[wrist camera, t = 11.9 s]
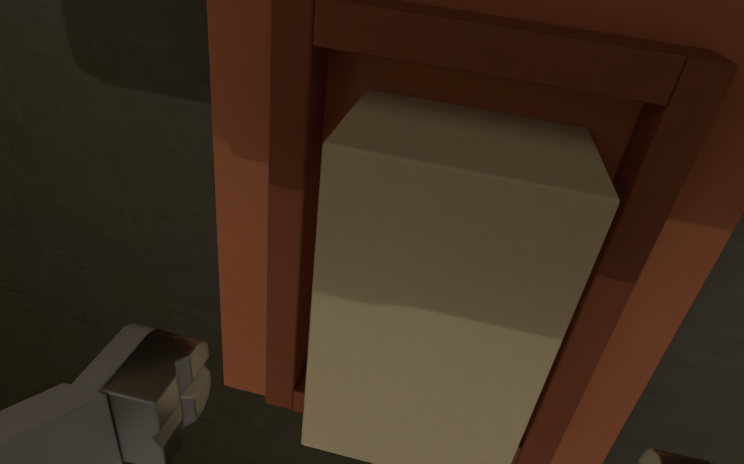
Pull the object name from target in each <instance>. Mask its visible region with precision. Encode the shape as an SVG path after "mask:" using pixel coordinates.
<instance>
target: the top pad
mask: <svg viewBox="0 0 744 464" xmlns="http://www.w3.org/2000/svg"><path fill="white" fill-rule="evenodd" d="M619 203H620V200H619V197H618V195H617V193H616V191H615V188H614V186H613V184H612V182H611V179H610V177H609V175H608V173H607V170H606V168H605V166H604V164H603V161H602V159H601V157H600V155H599V152H598V150H597V148H596V146H595V143H594V141H593V139H592V137H591V134H590V132H589V130H588V129H587V128H585V127H580V126H574V125H568V124H563V123H557V122H552V121H546V120H540V119H535V118H529V117H524V116H518V115H512V114H507V113H501V112H496V111H490V110H484V109H479V108H473V107H468V106H462V105H456V104H451V103H445V102H440V101H434V100H428V99H423V98H417V97H412V96H406V95H400V94H395V93H389V92H384V91H378V90H372V89H367V90H366V92H365V93H364V94H363V95H362V96H361V98H360V99H359V100H358V101H357V103H356V104H355V105H354V106H353V108H352V109H351V110H350V111H349V112H348V114H347V115H346V116H345V117H344V119H343V120H342V121H341V122H340V124H339V125H338V126H337V127H336V129H335V130H334V131H333V132H332V133H331V135H330V136H329V137H328V138H327V140H326V141H325V142H324V144H323V147H322V161H321V174H320V188H319V202H318V216H317V230H316V244H315V258H314V272H313V285H312V299H311V313H310V327H309V341H308V355H307V369H306V382H305V396H304V410H303V424H302V438H301V443H302V444H303V445H305V446H309V447H313V448H317V449H321V450H324V451H328V452H332V453H336V454H340V455H343V456H347V457H351V458H355V459H358V460H362V461H366V462H370V463H374V464H511V463H512V460H513V458H514V456H515V453H516V451H517V448H518V446H519V444H520V441H521V439H522V436H523V434H524V432H525V429H526V427H527V424H528V422H529V420H530V417H531V415H532V412H533V410H534V408H535V405H536V403H537V400H538V398H539V396H540V393H541V391H542V388H543V386H544V384H545V381H546V379H547V376H548V374H549V372H550V369H551V367H552V364H553V362H554V359H555V357H556V355H557V352H558V350H559V347H560V345H561V343H562V340H563V338H564V335H565V333H566V331H567V328H568V326H569V323H570V321H571V319H572V316H573V314H574V311H575V309H576V307H577V304H578V302H579V299H580V297H581V295H582V292H583V290H584V287H585V285H586V283H587V280H588V278H589V275H590V273H591V271H592V268H593V266H594V263H595V261H596V259H597V256H598V254H599V251H600V249H601V247H602V244H603V242H604V239H605V237H606V235H607V232H608V230H609V227H610V225H611V223H612V220H613V218H614V215H615V213H616V211H617V208H618V206H619Z"/></svg>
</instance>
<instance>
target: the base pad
mask: <svg viewBox="0 0 744 464" xmlns="http://www.w3.org/2000/svg"><path fill="white" fill-rule="evenodd" d="M207 19H208V41H209V63H210V85H211V107H212V129H213V150H214V172H215V194H216V216H217V238H218V260H219V282H220V304H221V326H222V348H223V370H224V385H226V386H229V387H233V388H237V389H241V390H245V391H249V392H253V393H257V394H261V395H265V402H266V403H268V404H272V405H276V406H279V407H283V408H287V409H292V408H293V411H297V412H301V413H303V410H304V396H305V382H306V369H307V355H308V341H309V327H310V313H311V299H312V285H313V272H314V258H315V244H316V230H317V216H318V202H319V188H320V174H321V161H322V147H323V144H324V142H325V141H326V140H327V138H328V137H329V136H330V135H331V133H332V132H333V131H334V130H335V129H336V127H337V126H338V125H339V124H340V122H341V121H342V120H343V119H344V117H345V116H346V115H347V114H348V112H349V111H350V110H351V109H352V108H353V106H354V105H355V104H356V103H357V101H358V100H359V99H360V98H361V96H362V95H363V94H364V93H365V92H366V90H367V89H372V90H378V91H384V92H389V93H395V94H400V95H406V96H412V97H417V98H423V99H428V100H434V101H440V102H445V103H451V104H456V105H462V106H468V107H473V108H479V109H484V110H490V111H496V112H501V113H507V114H512V115H518V116H524V117H529V118H535V119H540V120H546V121H552V122H557V123H563V124H568V125H574V126H580V127H585V128H587V129H588V130H589V132H590V134H591V137H592V139H593V141H594V143H595V146H596V148H597V150H598V152H599V155H600V157H601V159H602V161H603V164H604V166H605V168H606V170H607V173H608V175H609V177H610V179H611V182H612V184H613V186H614V188H615V191H616V193H617V195H618V197H619V200H620V203H619V206H618V208H617V211H616V213H615V215H614V218H613V220H612V223H611V225H610V227H609V230H608V232H607V235H606V237H605V239H604V242H603V244H602V247H601V249H600V251H599V254H598V256H597V259H596V261H595V263H594V266H593V268H592V271H591V273H590V275H589V278H588V280H587V283H586V285H585V287H584V290H583V292H582V295H581V297H580V299H579V302H578V304H577V307H576V309H575V311H574V314H573V316H572V319H571V321H570V323H569V326H568V328H567V331H566V333H565V335H564V338H563V340H562V343H561V345H560V347H559V350H558V352H557V355H556V357H555V359H554V362H553V364H552V367H551V369H550V372H549V374H548V376H547V379H546V381H545V384H544V386H543V388H542V391H541V393H540V396H539V398H538V400H537V403H536V405H535V408H534V410H533V412H532V415H531V417H530V420H529V422H528V424H527V427H526V429H525V432H524V434H523V436H522V439H521V441H520V444H519V446H518V448H517V451H516V453H515V456H514V458H513V460H512V463H511V464H602V463H603V461H604V459H605V458H606V456H607V454H608V452H609V451H610V449H611V447H612V445H613V444H614V442H615V440H616V438H617V436H618V435H619V433H620V431H621V429H622V428H623V426H624V424H625V422H626V420H627V419H628V417H629V415H630V413H631V412H632V410H633V408H634V406H635V404H636V403H637V401H638V399H639V397H640V396H641V394H642V392H643V390H644V389H645V387H646V385H647V383H648V381H649V380H650V378H651V376H652V374H653V373H654V371H655V369H656V367H657V365H658V364H659V362H660V360H661V358H662V357H663V355H664V353H665V351H666V350H667V348H668V346H669V344H670V342H671V341H672V339H673V337H674V335H675V334H676V332H677V330H678V328H679V326H680V325H681V323H682V321H683V319H684V318H685V316H686V314H687V312H688V310H689V309H690V307H691V305H692V303H693V302H694V300H695V298H696V296H697V295H698V293H699V291H700V289H701V287H702V286H703V284H704V282H705V280H706V279H707V277H708V275H709V273H710V271H711V270H712V268H713V266H714V264H715V263H716V261H717V259H718V257H719V255H720V254H721V252H722V250H723V248H724V247H725V245H726V243H727V241H728V240H729V238H730V236H731V234H732V232H733V231H734V229H735V227H736V225H737V224H738V222H739V220H740V218H741V216H742V215H743V213H744V0H207Z"/></svg>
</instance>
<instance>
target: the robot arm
mask: <svg viewBox="0 0 744 464" xmlns="http://www.w3.org/2000/svg"><path fill="white" fill-rule="evenodd" d="M208 357H209V351H208V343H205V342H203V341H199V340H196V339H192V338H188V337H185V336H181V335H177V334H173V333H170V332H166V331H162V330H158V329H154V328H150V327H146V326H142V325H138V324H134V323H131V324H129V325H127V326H125V327H124V328H123V329H122V330H121V331H120V332H119V333H118V334H117V335H116V336H115V337H114V338H113V339H112V341H111V342H110V343H109V344H108V345H107V346H106V347H105V348H104V349H103V350H102V351H101V352H100V354H99V355H98V356H97V357H96V358H95V359H94V360H93V361H92V362H91V363H90V364H89V365H88V367H87V368H86V369H85V370H84V371H83V372H82V373H81V374H80V375H79V376H78V377H77V378H76V380H75V381H74V382H73V383H72V384H71V385H70V384H66V383H62V384H60V385H58V386H55V387H53V388H51V389H49V390H46V391H44V392H42V393H40V394H37V395H35V396H33V397H31V398H28V399H26V400H24V401H22V402H19V403H17V404H15V405H13V406H10V407H8V408H6V409H4V410H1V411H0V464H122V461H126V462H130V463H134V464H171V462H172V461H173V459H174V457H175V456H176V454H177V452H178V451H179V449H180V447H181V446H182V444H183V442H184V441H185V437H184V429H183V428H184V427H186V426H188V425H190V424H191V423H193V422H195V421H197V419H198V417H199V415H200V414H201V412H202V410H203V409H204V406H205V403H206V401H207V398H208V395H209V392H210V385H211V374H210V371H209V370H208V369H207V368H206V366H205V365H204V363H205V362H206V360H207V359H208ZM638 461H639V464H717V463H710V462H709V461H706V460H701V459H697V458H693V457H688V456H684V455H679V454H675V453H671V452H666V451H662V450H657V449H653V448H650V449H648V450H646V451H644V452H643V454H642V455H641V457H640V458H639V460H638Z"/></svg>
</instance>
